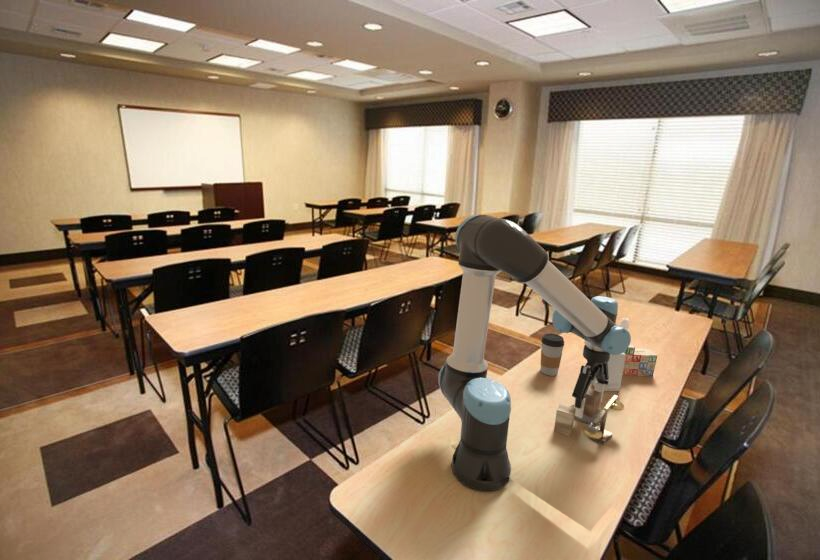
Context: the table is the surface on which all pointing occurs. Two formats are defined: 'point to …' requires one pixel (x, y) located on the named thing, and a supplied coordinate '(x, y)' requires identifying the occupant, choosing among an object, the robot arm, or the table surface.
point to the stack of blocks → (639, 361)
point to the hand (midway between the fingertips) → (587, 408)
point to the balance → (602, 422)
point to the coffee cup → (551, 354)
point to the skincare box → (614, 372)
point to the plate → (587, 418)
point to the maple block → (564, 419)
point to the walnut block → (591, 402)
